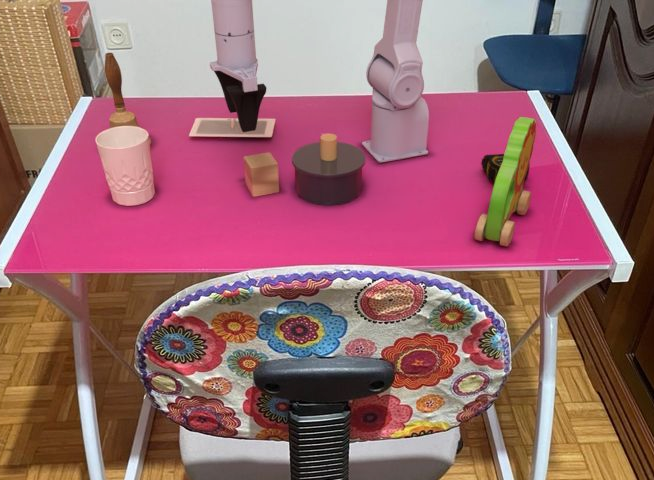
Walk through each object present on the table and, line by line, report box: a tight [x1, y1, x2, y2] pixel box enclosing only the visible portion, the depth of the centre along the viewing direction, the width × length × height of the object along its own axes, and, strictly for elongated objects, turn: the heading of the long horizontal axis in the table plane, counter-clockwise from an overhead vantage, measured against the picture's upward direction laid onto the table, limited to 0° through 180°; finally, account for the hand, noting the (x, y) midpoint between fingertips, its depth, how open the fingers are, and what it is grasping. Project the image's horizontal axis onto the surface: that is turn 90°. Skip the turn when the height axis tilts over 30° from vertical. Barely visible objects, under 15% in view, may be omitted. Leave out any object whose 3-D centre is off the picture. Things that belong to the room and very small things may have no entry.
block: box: [243, 151, 280, 198], centre depth 115 cm, size 4×4×5 cm
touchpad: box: [188, 117, 276, 138], centre depth 132 cm, size 8×15×2 cm, turn 88°
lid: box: [291, 132, 367, 178], centre depth 112 cm, size 12×12×4 cm
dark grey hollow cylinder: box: [294, 167, 363, 206], centre depth 115 cm, size 11×11×5 cm
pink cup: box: [95, 126, 156, 207], centre depth 112 cm, size 8×8×10 cm
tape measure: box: [480, 153, 531, 183], centre depth 117 cm, size 7×7×4 cm
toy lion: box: [473, 116, 537, 248], centre depth 104 cm, size 16×5×15 cm, turn 155°
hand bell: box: [104, 52, 152, 146], centre depth 124 cm, size 8×8×16 cm
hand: (242, 120), depth 113 cm, fingers open, 7 cm apart
